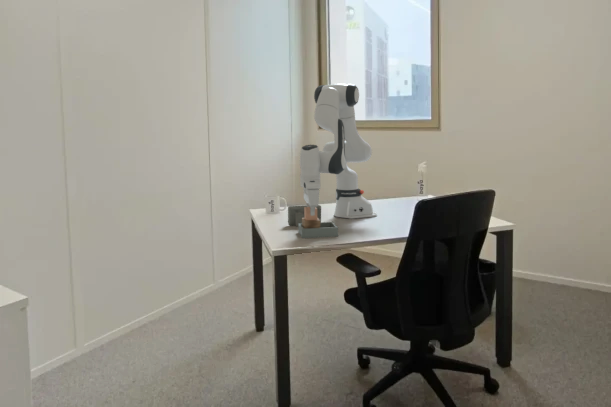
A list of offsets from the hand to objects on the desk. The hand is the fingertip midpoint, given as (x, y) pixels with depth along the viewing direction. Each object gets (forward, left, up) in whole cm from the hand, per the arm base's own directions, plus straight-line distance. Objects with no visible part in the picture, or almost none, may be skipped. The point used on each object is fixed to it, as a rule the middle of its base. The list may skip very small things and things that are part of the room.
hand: (310, 213), depth 251 cm
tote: (-3, 0, -11) cm, 11 cm away
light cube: (0, 0, -3) cm, 3 cm away
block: (0, 0, -10) cm, 10 cm away
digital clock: (0, -22, -11) cm, 25 cm away
